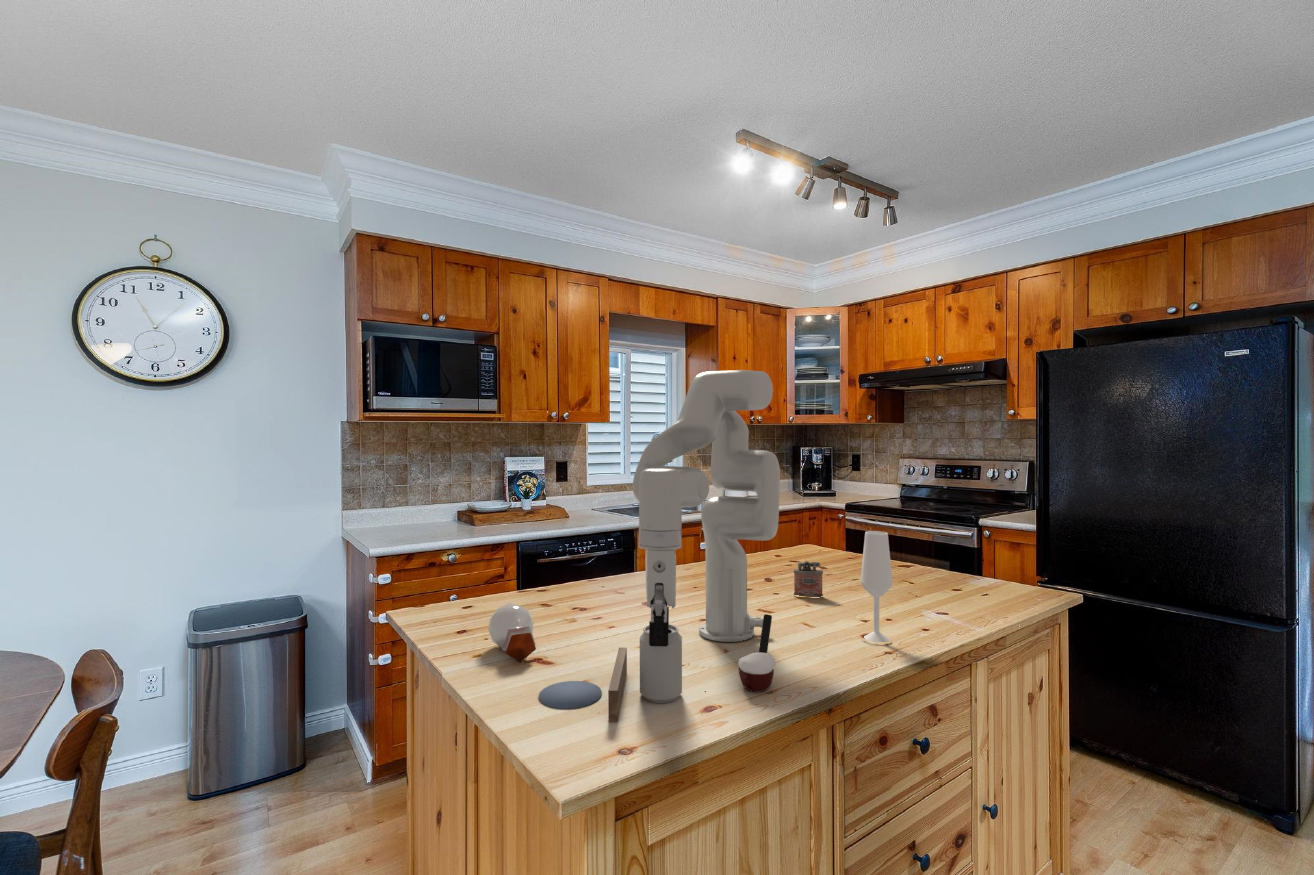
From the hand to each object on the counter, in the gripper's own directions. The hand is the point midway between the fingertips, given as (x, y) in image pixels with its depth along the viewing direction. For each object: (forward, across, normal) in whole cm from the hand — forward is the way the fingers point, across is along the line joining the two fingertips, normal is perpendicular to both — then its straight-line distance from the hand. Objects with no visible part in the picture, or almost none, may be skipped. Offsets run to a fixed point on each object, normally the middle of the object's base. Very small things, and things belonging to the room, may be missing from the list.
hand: (659, 637), depth 108 cm
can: (+11, +1, 0) cm, 11 cm away
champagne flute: (+10, +31, -48) cm, 58 cm away
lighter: (+9, +68, -41) cm, 80 cm away
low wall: (+11, +1, +7) cm, 13 cm away
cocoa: (+10, +5, -18) cm, 21 cm away
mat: (+11, +1, +16) cm, 19 cm away
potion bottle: (+11, +23, +31) cm, 40 cm away
